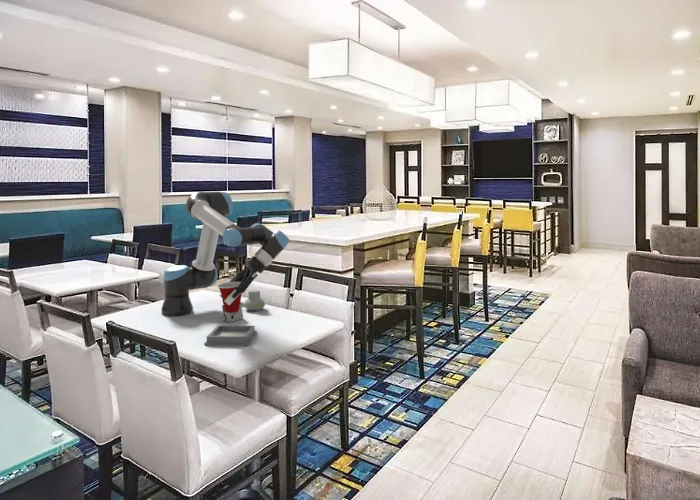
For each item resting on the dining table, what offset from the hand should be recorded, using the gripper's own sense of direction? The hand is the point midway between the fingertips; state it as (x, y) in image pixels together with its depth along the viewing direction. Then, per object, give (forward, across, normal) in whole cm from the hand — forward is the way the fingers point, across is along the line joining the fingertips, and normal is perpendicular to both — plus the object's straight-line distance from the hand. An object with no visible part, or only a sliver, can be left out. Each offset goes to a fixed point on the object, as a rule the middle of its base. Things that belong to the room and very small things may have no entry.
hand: (224, 300), depth 208 cm
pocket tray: (+10, 0, -14) cm, 17 cm away
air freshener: (-5, +44, -29) cm, 53 cm away
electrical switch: (+6, +29, -19) cm, 35 cm away
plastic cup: (+2, 0, -6) cm, 6 cm away
